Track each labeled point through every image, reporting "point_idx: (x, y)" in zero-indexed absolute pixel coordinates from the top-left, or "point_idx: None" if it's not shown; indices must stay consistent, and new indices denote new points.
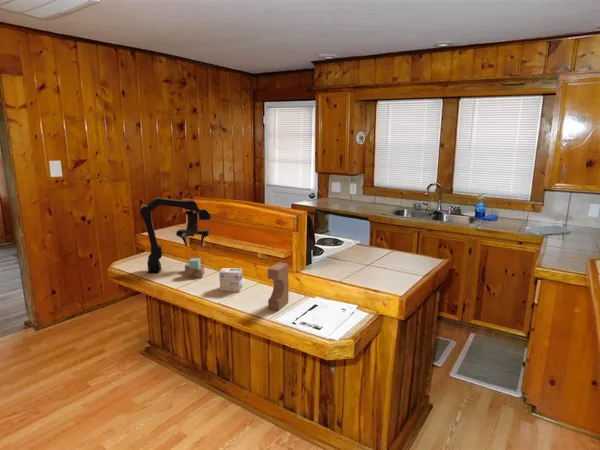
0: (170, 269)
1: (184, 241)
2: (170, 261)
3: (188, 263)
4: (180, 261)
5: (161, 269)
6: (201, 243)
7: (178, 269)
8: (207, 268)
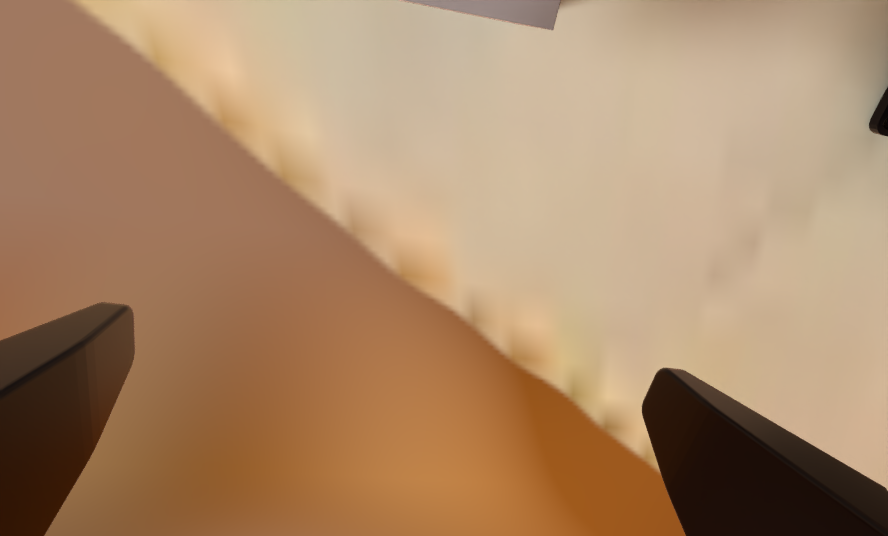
0: (752, 112)
1: (869, 497)
2: None
3: (516, 6)
4: (598, 394)
5: (875, 113)
6: (18, 364)
7: (644, 91)
8: (177, 56)
